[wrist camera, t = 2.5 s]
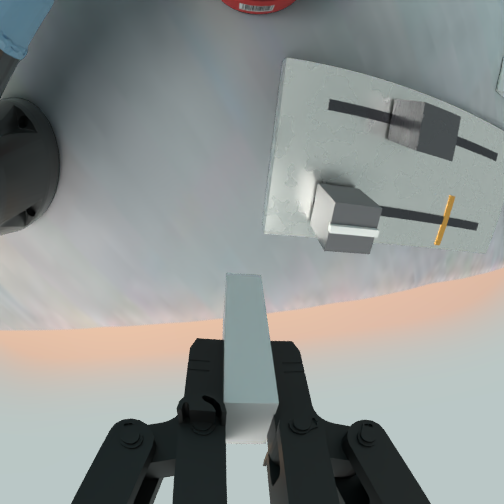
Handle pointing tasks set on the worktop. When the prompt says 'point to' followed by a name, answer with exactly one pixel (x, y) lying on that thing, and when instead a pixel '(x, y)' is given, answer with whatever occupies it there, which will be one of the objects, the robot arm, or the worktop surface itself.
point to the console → (383, 158)
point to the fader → (345, 219)
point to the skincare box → (501, 81)
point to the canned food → (258, 5)
